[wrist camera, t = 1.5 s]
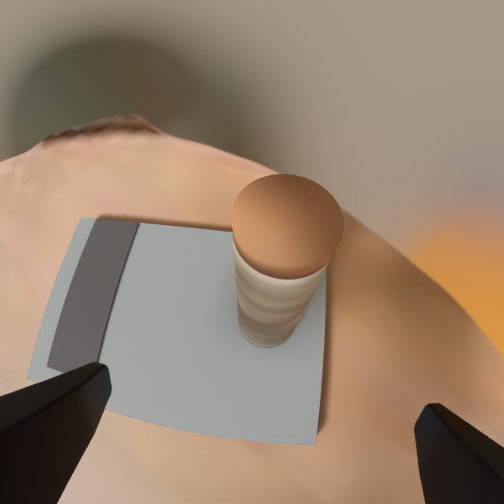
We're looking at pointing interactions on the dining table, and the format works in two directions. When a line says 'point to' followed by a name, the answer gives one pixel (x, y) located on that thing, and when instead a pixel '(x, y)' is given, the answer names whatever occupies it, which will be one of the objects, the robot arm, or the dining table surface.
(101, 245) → the strip
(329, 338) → the dining table surface
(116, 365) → the board
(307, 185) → the birch peg
